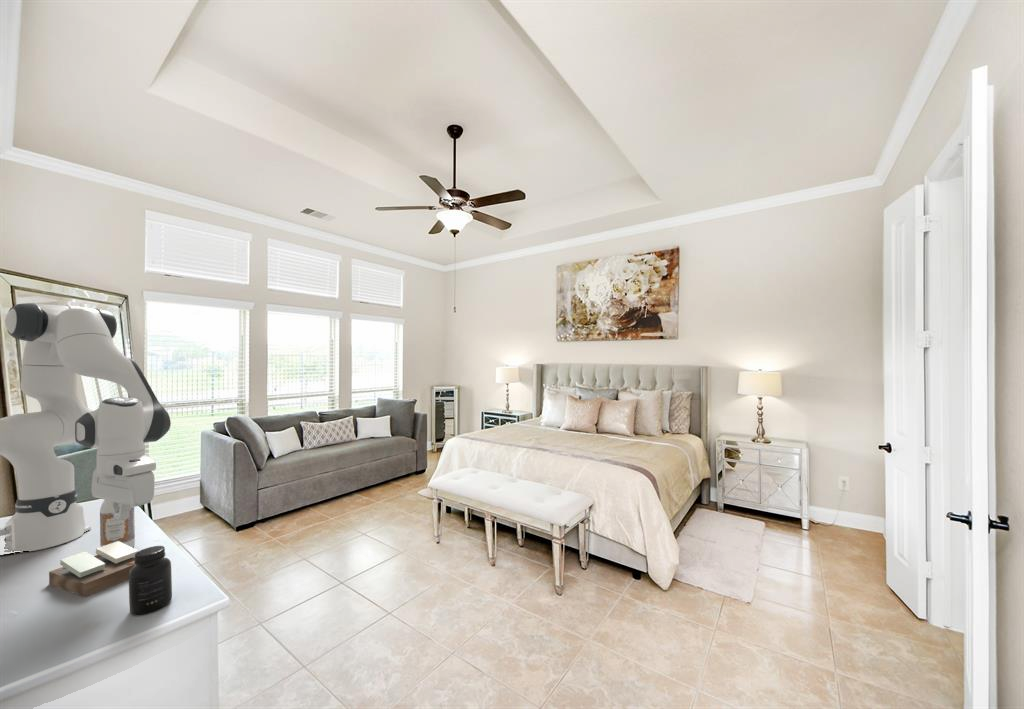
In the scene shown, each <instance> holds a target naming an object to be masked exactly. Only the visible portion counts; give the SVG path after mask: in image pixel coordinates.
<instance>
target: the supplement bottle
mask: <svg viewBox="0 0 1024 709" xmlns="http://www.w3.org/2000/svg"><path fill="white" fill-rule="evenodd" d="M165 550H166V549H165V546H164V545H154V546H150V547H146V548H143V549H140V550H138V552H137V553H136V554H135V561H134V564H135V566H134V567H133V568H132V569H131V570H130V572H129V579H128V597H129V599H128V600H129V601H128V603H129V604H128V605H129V613H130V614H131V615H132V616H138V617H140V616H145V615H149V614H152V613H154V612H157V611H159V610H161V609H163V608H165V607H166V606H167V605H169V604H170V602H171V601H172V599H173V585H172V584H173V583H172V581H173V580H172V579H173V578H172V561H171V560H170V558H168V557H166V552H165Z"/></svg>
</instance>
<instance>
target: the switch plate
mask: <svg viewBox="0 0 1024 709" xmlns="http://www.w3.org/2000/svg"><path fill="white" fill-rule="evenodd" d="M93 556H94V557H96V558H97V559H99V560H100V561H102V562H104V563H105V569H102V570H99V571H97V572H94V573H91V574H89V575H86V576H83V577H81V578H80V577H78V576H77V575H75V574H74V573H72V572H71V571H69V570H68V569H66V568H65V567H63V566H61V567H58V568H56V569H53V570H50V571H48V576H49V579H48V581H49V582H48V583H49V585H51V586H53V587H56V588H59V589H60V590H64V591H66V592H69V593H72V592H73V593H72V594H75V595H77V594H78V596H80V597H84V598H86V596H87V597H89V596H91V594H92V595H94V594H96V593H98V592H102V591H104V590H106V589H109V588H111V587H114V586H116V585H118V584H120V583H123V582H125V581H127V580H128V581H129V572H130V570H131V569H132V568H133V567H134V566H135V564H134V561H135V557H132V558H129V559H127V560H124V561H121V562H119V563H114V562H112V561H110V560H108V559H106V558H104V557H102V556H100V555H99V554H96V555H93Z"/></svg>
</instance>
